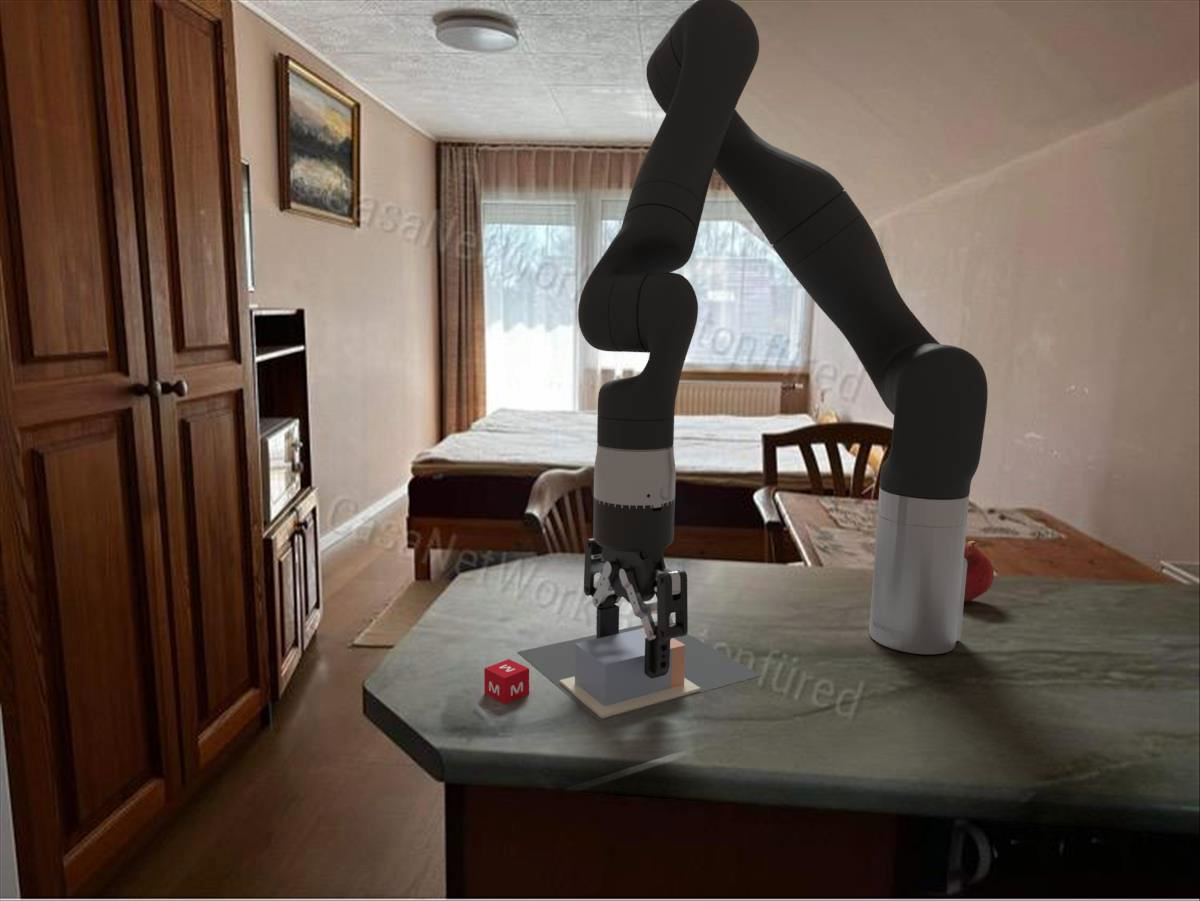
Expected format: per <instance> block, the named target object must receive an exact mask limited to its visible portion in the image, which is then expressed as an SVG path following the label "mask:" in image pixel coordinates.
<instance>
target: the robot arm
mask: <svg viewBox="0 0 1200 901" xmlns="http://www.w3.org/2000/svg"><path fill="white" fill-rule="evenodd" d="M759 53H760V39H759V33H758V30H757V27H756V25H755V22H754V21H753V19H752V18H751V16H750V15H749V13H748V12H747V11H746V10H745V9H744V8H743V7H742V6H741V5H740V4H738V3H737V2H735V1H734V0H695V1H693V2H692V3H690V4H689V5H688V6H687V7H686V8H685V9H684V10H683V11H682V12H681V14H680V15H679V16H678V17H677V18H676V20H675V22H674V23H673V24H672V25H671V27H670V28H669V29H668V31H667V33H666V34H665V35H664V36H663V38H662V39H661V41H660V42H659V43H658V44H657V46H656V48H655V49H654V50H653V52H652V54H651V55H650V57H649V59H648V62H647V64H646V68H645V69H646V73H645V74H646V81H647V85H648V87H649V89H650V92H651V93H652V95H653V96H652V97H654V99H655V101H656V103H657V104H658V106H659V107H660V108H661V110H662V111H663V113H665V115H664V118H663V120H662V122H661V124H660V127H659V128H658V130H657V132H656V135H655V137H654V138H653V140H652V143H651V145H650V146H649V149H648V150H647V152H646V154H645V156H644V159H643V161H642V163H641V165H640V168H639V170H638V173H637V174H636V177H635V181H634V183H633V186H632V189H631V193H630V195H629V199H628V203H627V206H626V209H625V213H624V217H623V220H622V224H621V227H620V229H619V231H618V233H617V234H616V235H615V237H614V238H613V239H612V241H611V243H610V245H608V247H607V249H606V250H605V252H604V254H603V255H602V256H601V258H600V259H599V261H598V263H597V264H596V265H595V267H594V268H593V269H592V271H591V273H590V275H589V276H588V278H587V280H586V282H585V284H584V287H583V289H582V292H581V294H580V298H579V302H578V307H577V308H578V310H577V318H578V320H577V321H578V326H579V328H580V332H581V334H582V336H583V338H584V340H585V341H586V342H587V343H588V344H589V346H591V347H593V348H594V349H596V350H599V351H602V352H603V351H604V352H611V353H613V352H614V353H615V352H616V353H618V352H619V353H620V352H621V353H644V354H645V353H646V354H647V353H649V356H648V360H647V362H646V364H645V366H644V368H643V370H642V371H641V372H640V373H639V374H637V375H634V376H633V375H632V376H629V377H622V378H617V379H613V380H608V381H607V382H605V383H603V384H602V385H601V387H600V388H599V391H598V396H597V416H596V418H597V422H596V423H597V426H596V429H597V430H596V435H597V437H596V438H597V439H596V443H597V445H596V454H595V460H594V468H593V469H594V470H593V522H592V523H593V524H592V525H593V528H592V530H593V534H592V537H593V538H587V539H585V544H584V545H585V547H584V548H585V549H584V569H583V572H584V574H583V592H584V595H585V596H587V597H588V596H591V597H592V605H593V607H594V608H596V622H595V624H596V628H595V629H596V630H595V631H596V635H597V636H596V639H598V638H602V637H607V636H611V635H616V634H619V630H620V606H619V605H618V603H620V601H621V599H622V598H624V599H625V600H626V601H627V603H629V604H630V606H631V608H632V611H633V614H634V616H636V617H637V618H639V619H640V620H641V623H642V624H641V625H643V627H644V630H645V633H646V636H647V638H645V666H644V673H645V675H647V676H648V677H650V678H656V677H660V676H664V675H666V674H667V672H668V670H669V667H670V661H669V660H670V657H669V656H670V640H671V639H672V638H676V637H681V636H685V635H687V634H688V630H689V627H688V625H689V624H688V618H689V617H688V616H689V615H688V614H689V613H688V612H689V611H688V607H689V606H688V574H687V572H686V570H684V569H679V570H671V569H669V568H667V567H666V563H665V559H664V552H665V550H667V548H668V547H669V546H670V545H671V544H673V543H674V542H673V541H674V538H675V536H674V535H675V510H676V508H675V507H676V506H675V505H676V478H677V477H676V476H677V475H676V474H677V473H676V462H675V461H676V460H675V452H674V451H675V449H674V447H675V446H674V437H675V433H674V432H675V415H676V414H675V413H676V412H675V409H676V401H677V400H676V399H677V394H678V390H679V384H680V381H681V376H682V371H683V367H684V364H685V361H686V358H687V354H688V352H689V349H690V346H691V343H692V341H693V338H694V337H693V336H694V334H695V330H696V326H697V324H698V323H697V322H698V317H699V316H698V314H699V303H698V302H699V301H698V299H697V294H696V291H695V290H694V287H693V285H692V284H691V282H690V281H689V280H688V279H687V278H686V277H685V276H683V275H682V274H680V273H676V272H675V271H678V270H680V269H681V268H683V267H684V266H685V265H686V264H687V263H689V261H690V259H691V257H692V254H693V252H694V247H695V244H696V240H697V236H698V231H699V227H700V223H701V219H702V215H703V212H704V207H705V202H706V199H707V194H708V191H709V187H710V183H711V180H712V176H713V172H714V170H715V171H716V173H717V174H718V175H719V176H720V177H721V179H722V180H723V181H724V183H725V184H726V185H727V186H728V188H729V189H730V190H731V191H732V193H733V194H734V195H735V197H736V198H737V199H738V201H739V202H740V204H742V206H743V207H744V208H745V210H746V211H747V212H748V214H749V215H750V216H751V218H752V219H753V220H754V222H755V223H756V224H757V226H758V228H759V229H760V230H761V232H762V234H763V235H764V236H765V238H766V239H767V241H768V242H769V244H770V245H771V247H772V249H773V250H774V251H775V252H776V253H777V255H778V256H779V258H780V259H781V260H782V262H783V263H784V265H785V266H786V268H788V270H789V271H790V273H791V274H792V275H793V277H794V278H795V279H796V280H797V281H798V283H799V284H800V285H801V286H802V288H803V289H804V290H805V292H806V293H807V294H808V296H810V298H811V299H813V301H814V302H815V304H816V305H817V306H818V307H819V309H821V311H822V312H823V313H824V314H825V315H826V316H827V317H828V319H829V320H830V321H831V322H832V323H833V324H834V325H835V327H836V328H837V329H838V331H840V332H841V333H842V334H843V336H844V338H845V339H846V340H847V341H848V344H849V345H850V347H851V348H852V350H853V351H854V353H855V354H856V356H857V358H858V359H859V362H860V363H861V365H862V366H863V368H864V370H865V371H866V373H867V375H868V377H869V378H870V380H871V382H872V384H873V386H874V388H875V389H876V391H877V393H878V395H879V397H880V398H881V399H880V400H882V403H883V404H884V405H885V407H886V408H887V409H888V410H889V411H890V413H891V414H892V415H893V425H892V435H891V444H890V450H889V453H888V455H887V456H888V457H887V458H886V459H885V460H884V461H883V463H882V465H881V468H880V475H879V491H878V492H879V493H878V501H877V502H878V504H877V519H876V532H875V543H874V544H875V545H874V546H875V548H874V561H873V574H872V585H871V586H872V587H871V601H870V613H869V614H870V616H869V623H868V624H869V627H868V628H869V629H868V635H869V636H870V637H871V639H872V640H874V641H875V642H876V643H878V644H880V645H882V646H884V647H887V648H889V649H892V650H896V651H899V652H904V653H909V654H917V655H940V654H945V653H949V652H951V651H953V650H954V649H955V648H956V644H957V641H961V634H962V627H963V626H962V624H963V615H964V603H965V601H964V594H965V584H966V573H967V560H966V559H965V558H964V550H965V546H966V540H967V539H966V536H967V527H968V526H967V525H968V513H969V503H970V493H971V492H970V491H971V484H972V480H973V478H974V476H975V475H976V472H977V470H978V467H979V464H980V461H981V455H982V447H983V446H982V445H983V439H984V438H983V437H984V432H985V424H986V417H987V409H988V380H987V376H986V372H985V370H984V367H983V365H982V364H981V363H980V361H979V359H977V358H976V356H974V355H973V354H972V353H971V352H969V351H967V350H966V349H963V348H961V347H958V346H954V345H949V344H941V343H940V342H939V341H938V340H936V339H935V338H934V336H933V335H932V334H931V333H930V332H929V331H928V329H927V328H926V327H925V326H924V325H923V324H922V323H921V321H920V320H919V319H918V318H917V316H916V315H915V314H914V313H913V312H912V310H910V309H911V308H909V306H908V305H907V303H906V302H905V300H904V299H903V298H902V296H901V294H900V293H899V291H898V289H897V287H896V285H895V282H894V280H893V277H892V275H891V271H890V269H889V266H888V264H887V260H886V258H885V256H884V254H883V251H882V248H881V246H880V243H879V242H878V239H877V237H876V235H875V233H874V231H873V229H872V227H871V226H870V223H869V222H868V221H867V219H866V218H865V215H863V213H862V212H861V211H860V209H859V208H858V206H857V205H856V203H855V201H853V199H852V198H851V196H850V195H849V194H848V192H847V191H846V190H845V188H844V187H843V185H842V184H841V182H840V181H839V180H838V179H837V178H836V177H835V176H834V175H833V174H831V173H830V172H828V171H827V170H826V169H824V168H822V167H821V166H819V165H818V164H815V163H814V162H811V161H809V160H806V159H805V158H802V157H800V156H797V155H795V154H793V153H790V152H787V151H785V150H783V149H781V148H779V147H776V146H774V145H772V144H771V143H769V142H767V141H765V140H764V139H763V138H762V137H761V136H759V135H758V134H757V133H756V132H755V131H754V130H753V129H752V128H751V127H750V126H749V125H748V122H746V121H745V120H744V118H743V117H742V116H741V115H740V114H739V112H738V111H737V108H736V107H737V105H738V103H739V99H740V98H741V96H742V94H743V92H744V89H745V87H746V86H747V83H748V81H749V79H750V77H751V75H752V73H753V70H754V68H755V66H756V64H757V62H758V57H759V55H760V54H759ZM598 573H600V576H599V577H598V580H597V581H595V575H596V574H598ZM654 597H656V601H655V602H651V603H645V602H650V601H651V600H652V599H653V598H654ZM653 614H656V615H657V618H656V619H657V620H656V622H657V625H655V624H654V622H655V621H654V618H653V616H652V615H653ZM672 614H674V615H675V620H674V621H673V618H672Z"/></svg>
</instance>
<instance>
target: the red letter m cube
mask: <svg viewBox="0 0 1200 901" xmlns="http://www.w3.org/2000/svg"><path fill="white" fill-rule="evenodd" d="M483 670H484V672H483V673H484V676H483V677H484V679H483V680H484V681H483V682H484V694H485V695H487V696H489V697H490V698H493V699H494V700H496V701H497V702H500V703H502V704H504V705H506V704H508V703H511V702H512V701H515V700H517V699H520V698H522V697H525V696H528V695H529V694H530V668H529V667H527V666H525V665H523V664H521V663H518V662H516V661H514V660H512V659H510V658H508V659H505V660H503V661H500V662H498V663H495V664H492V665H489V666H487V667H484V669H483Z"/></svg>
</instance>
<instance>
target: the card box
mask: <svg viewBox="0 0 1200 901" xmlns="http://www.w3.org/2000/svg"><path fill="white" fill-rule="evenodd" d="M645 638H647V636H646V633H645V630H644V628H641V629H638V630H633V631H629V632H624V633H620V634H616V635H611V636H607V637H602V638H598V639H593V640H589V641H585V642H580V643H576V644H575V683H576V684H577V685H578V686H579V687H581V688H582V689H583V690H584V691H586V692H587V693H588V694H589V695H591V696H592V697H593V698H595V699H596V700H597V701H598V702H600V703H601V704H602V705H603V706H608V705H612V704H615V703H619V702H623V701H626V700H630V699H633V698H637V697H640V696H644V695H648V694H651V693H655V692H658V691H662V690H666V689H669V688H674V687H678V686H681V685H684V674H685V644H683V643H681V642H679V641H678V640H676V639H674V638H672V639H671V640H670V656H669V657H670V660H669V661H670V667H669V670H668V672H667V674H666V675H664V676H660V677H656V678H650V677H648V676H647V675H645V673H644V666H645Z"/></svg>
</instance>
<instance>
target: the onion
mask: <svg viewBox="0 0 1200 901" xmlns="http://www.w3.org/2000/svg"><path fill="white" fill-rule="evenodd" d="M978 544H979V543H977V542H976V541H974V540H970V541H967V544H965V550H964V558H965V559H966V560H967V573H966V584H965V594H964V602H972V600H974V599H977V598H979V597H981V596H982V595H983V594H985V593H986V592H988V591H989V590H990V588H991V587H992V585H993V582H994V578H995V576H994V574H995V573H994V568H993V564H992V562H991V561H990V559H989V558H988V557H987V555H986V554H984V553H983V552H982V551H981V550H979V549H978V547H977V546H978Z"/></svg>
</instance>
